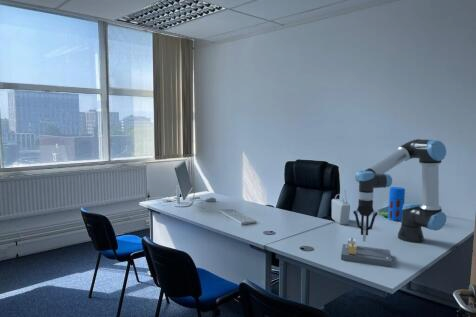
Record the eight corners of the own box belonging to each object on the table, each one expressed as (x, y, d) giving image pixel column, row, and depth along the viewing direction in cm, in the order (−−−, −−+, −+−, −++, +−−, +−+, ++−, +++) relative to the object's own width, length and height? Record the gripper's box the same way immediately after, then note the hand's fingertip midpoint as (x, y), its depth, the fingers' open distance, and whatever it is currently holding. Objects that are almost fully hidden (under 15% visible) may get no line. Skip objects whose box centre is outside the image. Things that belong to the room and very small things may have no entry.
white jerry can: (351, 225, 254) (353, 191, 252) (340, 225, 254) (342, 191, 251) (340, 218, 276) (342, 186, 274) (330, 218, 275) (331, 186, 273)
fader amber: (356, 251, 190) (356, 244, 190) (356, 254, 186) (356, 246, 185) (348, 250, 192) (348, 243, 191) (348, 253, 187) (348, 245, 187)
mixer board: (389, 255, 196) (389, 249, 195) (391, 266, 179) (392, 261, 179) (342, 249, 204) (343, 243, 204) (340, 259, 187) (341, 254, 187)
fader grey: (355, 245, 200) (355, 238, 200) (355, 248, 195) (355, 241, 195) (348, 244, 201) (348, 237, 201) (347, 247, 197) (348, 240, 196)
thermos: (404, 221, 269) (406, 189, 266) (389, 220, 271) (391, 188, 268) (401, 218, 279) (402, 187, 277) (386, 217, 281) (388, 186, 279)
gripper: (378, 198, 195) (376, 239, 197) (353, 197, 200) (352, 237, 202) (378, 201, 188) (376, 244, 190) (353, 199, 193) (351, 241, 195)
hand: (364, 240), depth 196 cm, fingers closed
